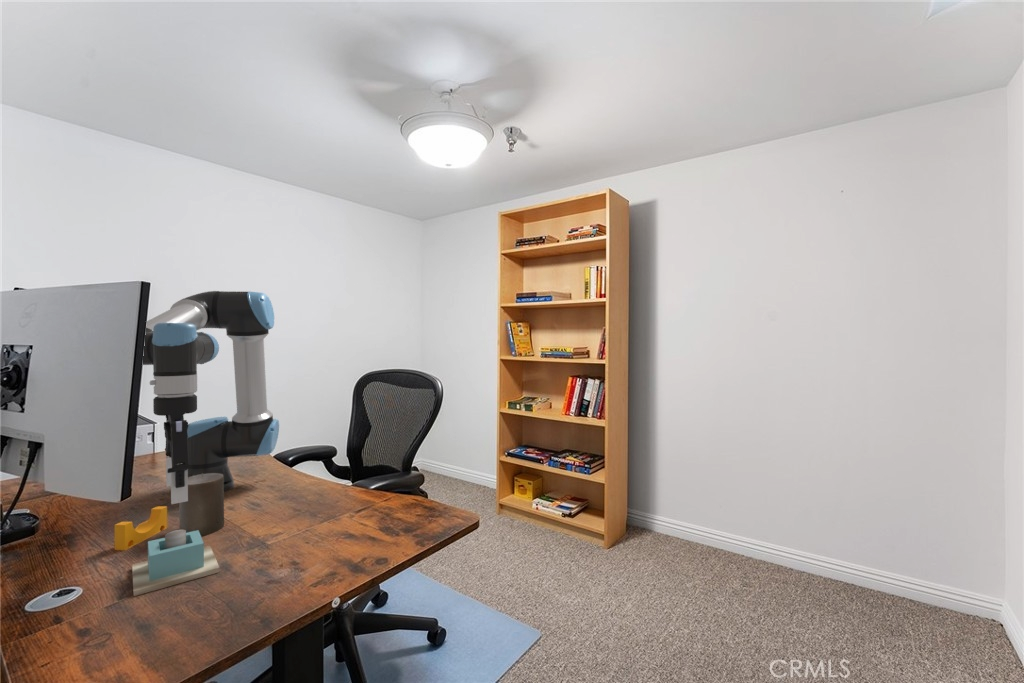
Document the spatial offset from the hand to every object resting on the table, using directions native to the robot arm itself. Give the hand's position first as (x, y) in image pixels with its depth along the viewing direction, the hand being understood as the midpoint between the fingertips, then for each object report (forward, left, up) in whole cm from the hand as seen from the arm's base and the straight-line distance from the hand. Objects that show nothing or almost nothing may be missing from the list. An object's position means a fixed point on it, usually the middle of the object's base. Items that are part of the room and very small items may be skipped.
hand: (176, 493), depth 97 cm
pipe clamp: (-24, -6, -17) cm, 30 cm away
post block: (0, 0, -16) cm, 16 cm away
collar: (0, 0, -15) cm, 15 cm away
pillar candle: (-21, +7, -17) cm, 27 cm away
